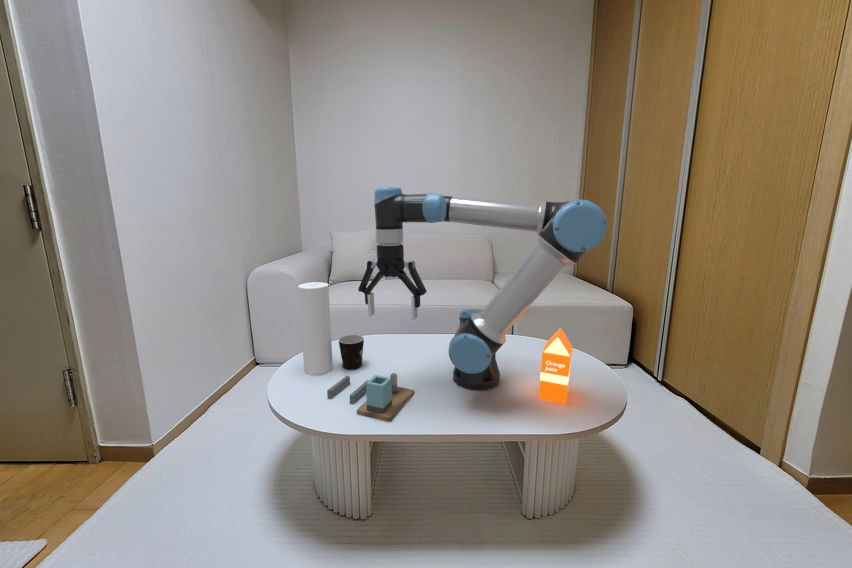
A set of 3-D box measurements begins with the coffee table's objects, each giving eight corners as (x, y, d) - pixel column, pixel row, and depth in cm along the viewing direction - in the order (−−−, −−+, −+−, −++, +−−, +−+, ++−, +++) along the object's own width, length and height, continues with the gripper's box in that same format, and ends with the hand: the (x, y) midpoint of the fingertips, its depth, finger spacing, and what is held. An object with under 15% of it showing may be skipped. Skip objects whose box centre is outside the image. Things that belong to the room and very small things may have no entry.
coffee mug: (352, 358, 136) (351, 332, 134) (370, 364, 131) (369, 338, 129) (327, 370, 127) (326, 342, 125) (345, 377, 122) (343, 348, 120)
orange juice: (538, 399, 109) (543, 334, 105) (542, 385, 117) (546, 325, 113) (566, 405, 106) (572, 338, 102) (568, 390, 114) (574, 328, 110)
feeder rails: (371, 388, 115) (370, 380, 114) (353, 404, 106) (353, 396, 105) (346, 383, 118) (346, 375, 118) (327, 398, 109) (327, 390, 109)
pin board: (414, 393, 112) (414, 371, 110) (389, 422, 97) (389, 396, 96) (384, 387, 116) (384, 365, 114) (356, 414, 101) (355, 389, 99)
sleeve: (383, 413, 99) (382, 386, 97) (366, 410, 101) (366, 382, 99) (391, 404, 104) (391, 378, 102) (375, 401, 105) (375, 374, 104)
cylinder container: (315, 377, 122) (309, 288, 115) (298, 370, 127) (292, 284, 121) (338, 367, 129) (334, 283, 122) (321, 361, 134) (316, 279, 128)
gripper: (436, 243, 105) (437, 315, 109) (356, 242, 112) (360, 310, 116) (428, 246, 98) (430, 323, 102) (343, 244, 105) (348, 317, 109)
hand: (392, 316), depth 109 cm, fingers open, 13 cm apart
